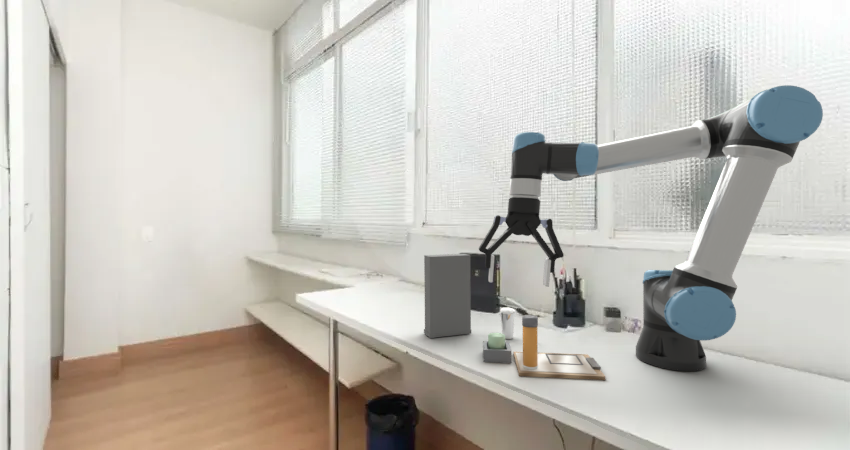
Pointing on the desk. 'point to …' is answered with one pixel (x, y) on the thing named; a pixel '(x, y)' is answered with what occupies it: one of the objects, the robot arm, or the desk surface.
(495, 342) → the button
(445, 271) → the tall grey upright box
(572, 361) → the clipboard
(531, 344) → the orange capped bottle
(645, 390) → the desk surface
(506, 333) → the milkshake
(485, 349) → the button housing
